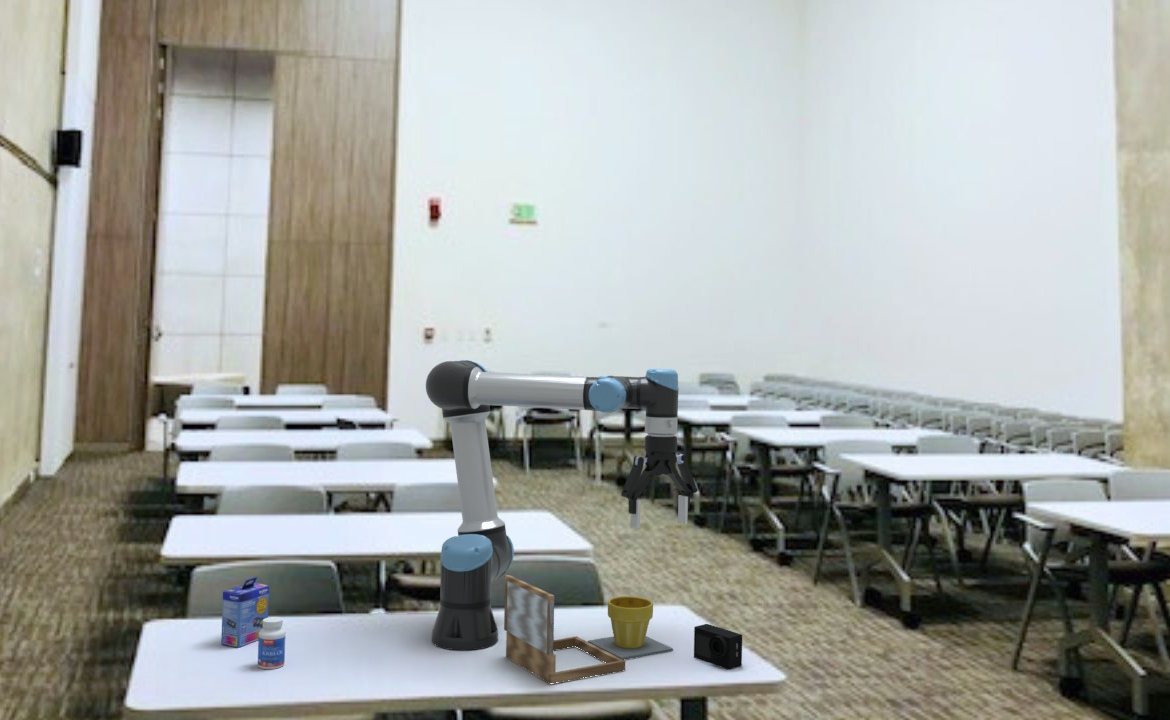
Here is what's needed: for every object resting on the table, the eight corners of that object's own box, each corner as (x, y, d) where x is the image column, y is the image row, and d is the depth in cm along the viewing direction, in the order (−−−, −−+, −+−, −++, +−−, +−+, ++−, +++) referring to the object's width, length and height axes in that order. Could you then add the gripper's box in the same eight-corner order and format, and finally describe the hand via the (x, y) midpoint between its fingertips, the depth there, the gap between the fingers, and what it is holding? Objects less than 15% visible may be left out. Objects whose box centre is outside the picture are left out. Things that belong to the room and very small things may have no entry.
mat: (587, 643, 225) (587, 640, 225) (637, 634, 232) (637, 632, 232) (621, 660, 213) (621, 657, 213) (673, 651, 220) (673, 648, 220)
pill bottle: (259, 671, 202) (260, 624, 202) (255, 663, 206) (256, 617, 206) (287, 667, 204) (287, 621, 204) (282, 660, 209) (283, 614, 209)
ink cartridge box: (239, 648, 216) (240, 583, 216) (219, 645, 218) (220, 580, 218) (269, 636, 225) (270, 574, 225) (250, 633, 227) (251, 571, 227)
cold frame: (503, 657, 214) (505, 575, 213) (576, 645, 223) (578, 566, 223) (548, 685, 197) (550, 596, 196) (625, 670, 206) (626, 585, 206)
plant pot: (653, 652, 217) (654, 608, 217) (606, 650, 218) (607, 606, 218) (651, 638, 228) (652, 596, 228) (607, 636, 228) (608, 595, 228)
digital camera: (689, 658, 215) (689, 627, 215) (706, 654, 219) (706, 623, 219) (724, 671, 207) (725, 638, 207) (741, 666, 211) (742, 634, 211)
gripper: (625, 438, 219) (623, 532, 219) (713, 434, 232) (711, 523, 232) (607, 435, 225) (605, 527, 225) (693, 432, 238) (691, 518, 238)
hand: (659, 525), depth 229 cm, fingers open, 13 cm apart
